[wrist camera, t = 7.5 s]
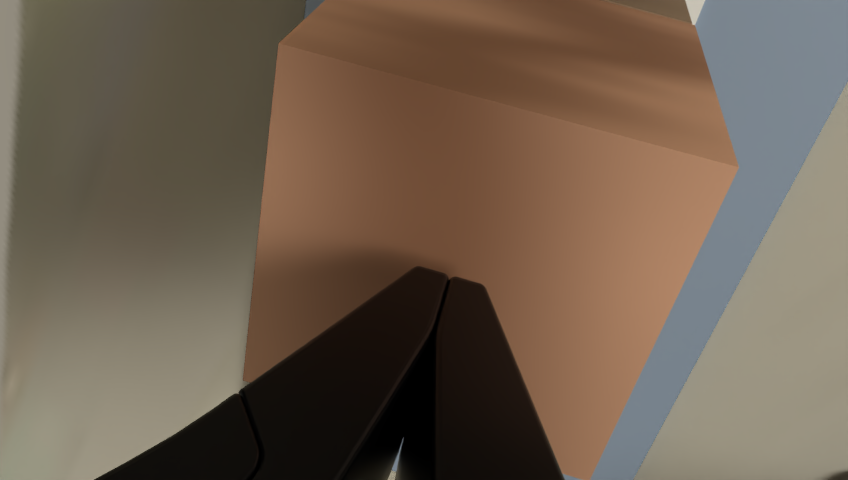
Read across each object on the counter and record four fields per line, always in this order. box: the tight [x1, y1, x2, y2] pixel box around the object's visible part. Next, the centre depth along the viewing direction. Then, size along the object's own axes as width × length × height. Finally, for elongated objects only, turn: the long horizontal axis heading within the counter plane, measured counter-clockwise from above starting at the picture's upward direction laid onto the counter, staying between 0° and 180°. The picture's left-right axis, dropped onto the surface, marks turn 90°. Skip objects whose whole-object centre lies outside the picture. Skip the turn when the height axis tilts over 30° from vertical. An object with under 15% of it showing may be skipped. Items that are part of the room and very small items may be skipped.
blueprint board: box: [304, 0, 848, 480], centre depth 21 cm, size 12×19×1 cm, turn 168°
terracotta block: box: [243, 0, 739, 480], centre depth 12 cm, size 5×5×5 cm
